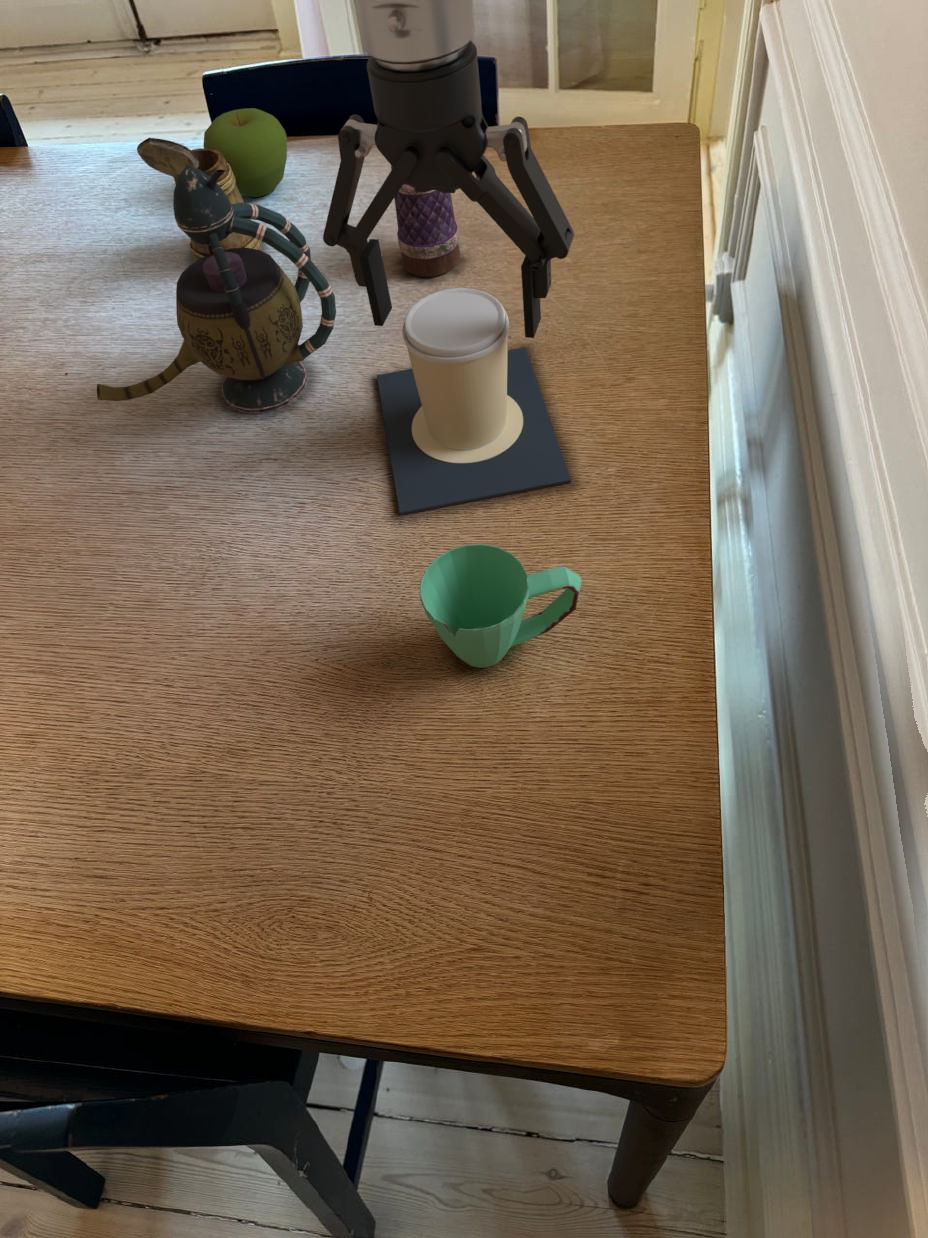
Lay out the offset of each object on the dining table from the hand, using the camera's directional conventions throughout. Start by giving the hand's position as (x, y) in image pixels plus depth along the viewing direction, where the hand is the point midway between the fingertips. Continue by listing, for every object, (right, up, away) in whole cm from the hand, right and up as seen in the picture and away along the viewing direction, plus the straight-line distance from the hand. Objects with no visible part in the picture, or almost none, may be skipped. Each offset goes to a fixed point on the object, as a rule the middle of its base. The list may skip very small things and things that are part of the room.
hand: (456, 322), depth 74 cm
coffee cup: (+1, -7, +10) cm, 12 cm away
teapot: (-24, -2, +17) cm, 29 cm away
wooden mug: (-29, +19, +32) cm, 47 cm away
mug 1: (-4, +18, +28) cm, 34 cm away
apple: (-27, +32, +41) cm, 59 cm away
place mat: (+1, -7, +10) cm, 12 cm away
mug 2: (+4, -28, -5) cm, 29 cm away
